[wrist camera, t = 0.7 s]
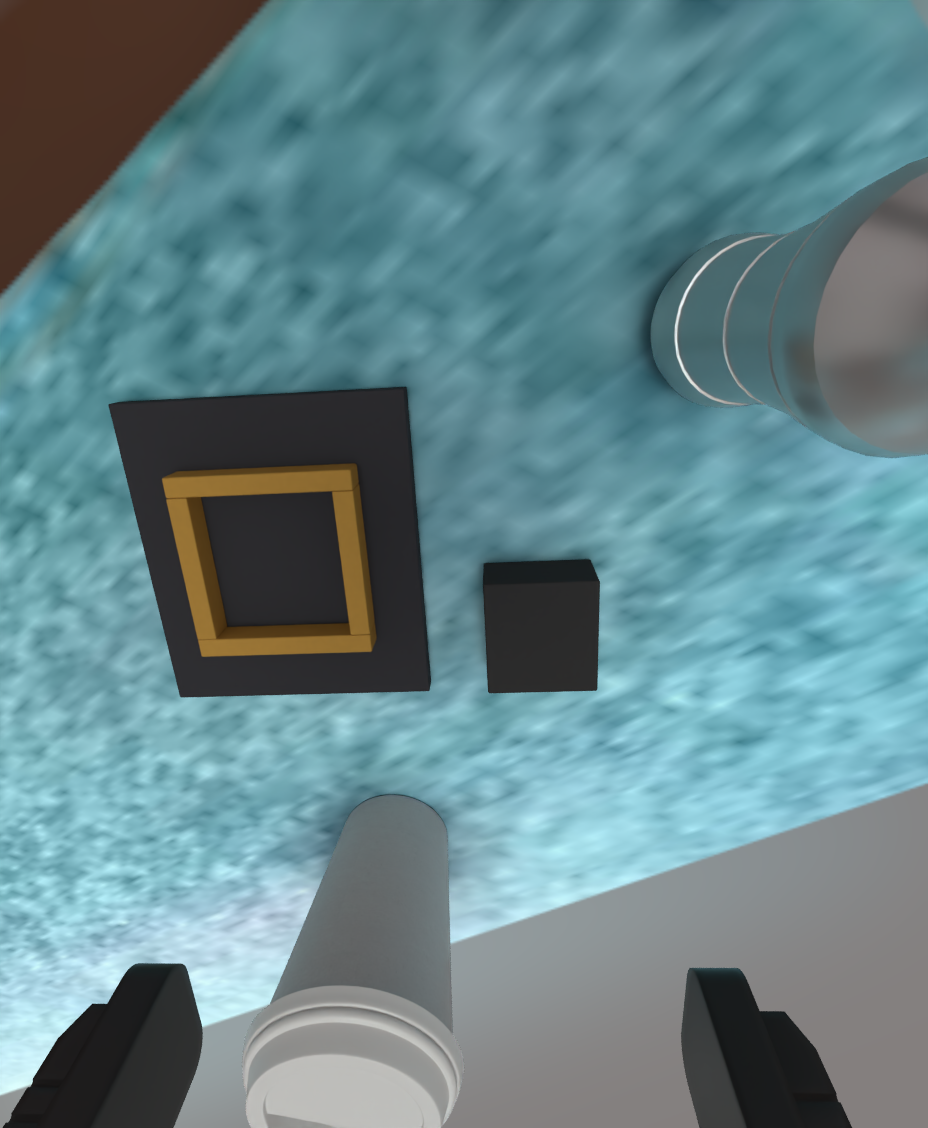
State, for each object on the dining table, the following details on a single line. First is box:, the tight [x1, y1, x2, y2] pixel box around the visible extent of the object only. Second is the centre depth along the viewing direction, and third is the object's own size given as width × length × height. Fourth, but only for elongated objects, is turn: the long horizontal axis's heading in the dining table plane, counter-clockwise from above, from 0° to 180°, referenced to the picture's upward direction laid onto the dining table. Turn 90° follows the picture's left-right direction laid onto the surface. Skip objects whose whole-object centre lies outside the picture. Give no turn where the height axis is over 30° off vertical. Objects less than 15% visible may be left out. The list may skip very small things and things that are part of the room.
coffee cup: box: [242, 795, 464, 1128], centre depth 32 cm, size 10×10×15 cm
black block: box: [483, 560, 600, 693], centre depth 32 cm, size 6×6×3 cm
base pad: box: [109, 387, 431, 697], centre depth 32 cm, size 16×14×2 cm
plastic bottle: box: [651, 157, 928, 458], centre depth 19 cm, size 6×7×20 cm
